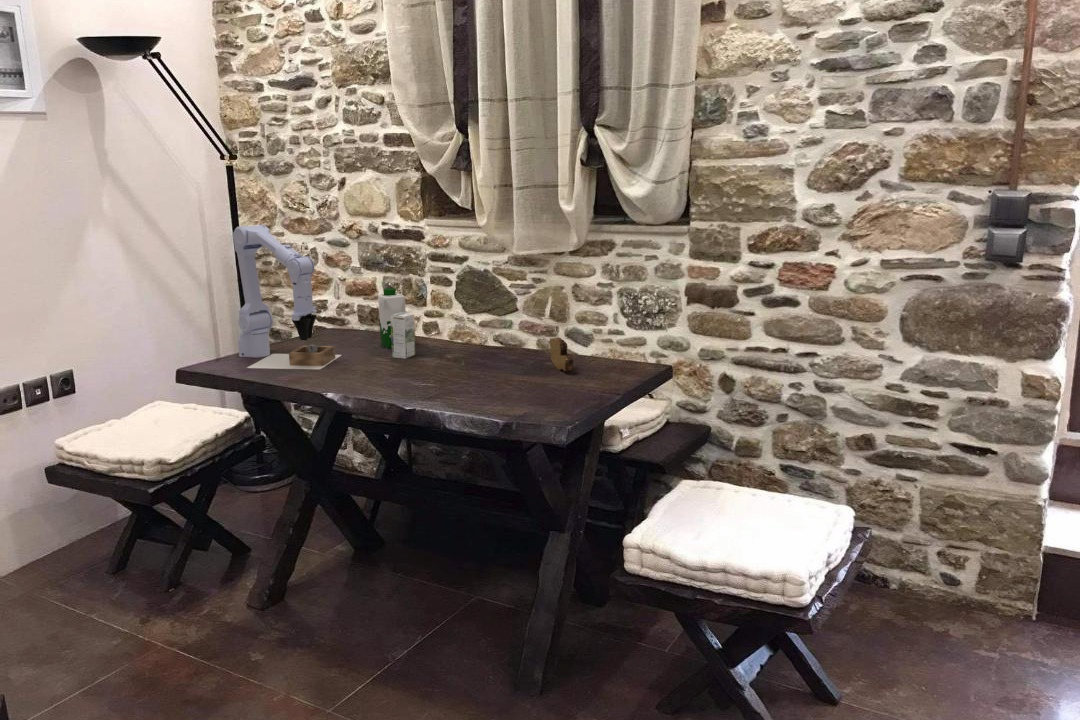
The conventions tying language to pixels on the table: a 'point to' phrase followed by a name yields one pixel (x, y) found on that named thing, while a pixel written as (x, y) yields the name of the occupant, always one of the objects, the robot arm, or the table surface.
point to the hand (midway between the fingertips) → (305, 338)
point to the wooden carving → (560, 354)
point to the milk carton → (389, 313)
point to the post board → (285, 361)
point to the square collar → (312, 356)
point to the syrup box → (403, 335)
